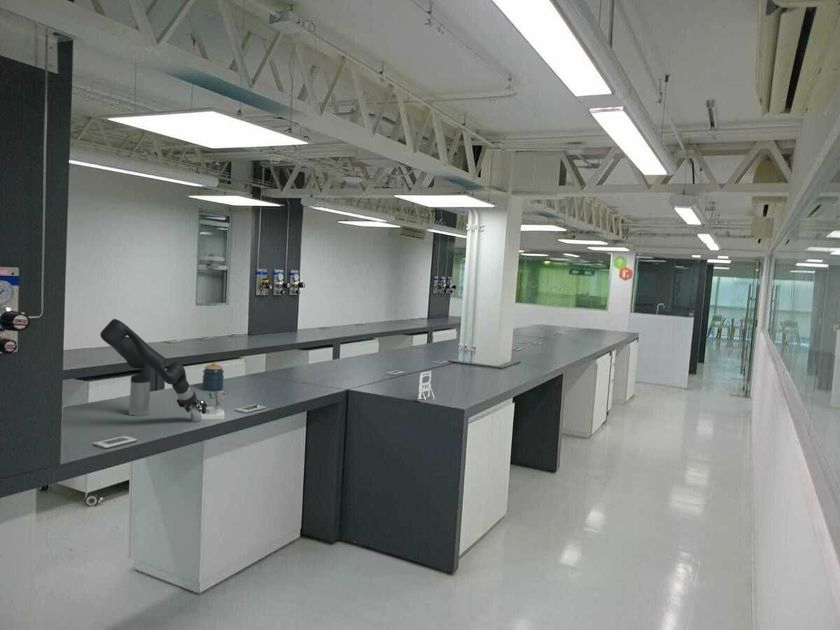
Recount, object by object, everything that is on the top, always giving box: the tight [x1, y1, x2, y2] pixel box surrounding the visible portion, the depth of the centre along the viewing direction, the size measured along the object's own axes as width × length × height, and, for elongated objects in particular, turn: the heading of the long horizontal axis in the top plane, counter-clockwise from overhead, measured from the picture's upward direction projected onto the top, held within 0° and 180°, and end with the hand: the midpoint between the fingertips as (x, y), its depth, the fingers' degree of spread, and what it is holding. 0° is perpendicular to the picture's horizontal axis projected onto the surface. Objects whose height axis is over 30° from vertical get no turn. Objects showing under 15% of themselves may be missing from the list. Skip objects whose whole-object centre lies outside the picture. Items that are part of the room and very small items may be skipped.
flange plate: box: [201, 405, 226, 420], centre depth 322 cm, size 12×12×4 cm
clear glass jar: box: [190, 404, 202, 423], centre depth 309 cm, size 5×5×10 cm
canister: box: [201, 361, 225, 392], centre depth 391 cm, size 13×13×18 cm
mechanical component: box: [208, 390, 228, 407], centre depth 338 cm, size 3×10×10 cm, turn 134°
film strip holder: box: [417, 370, 435, 400], centre depth 397 cm, size 14×14×20 cm
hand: (196, 411), depth 310 cm, fingers open, 8 cm apart
